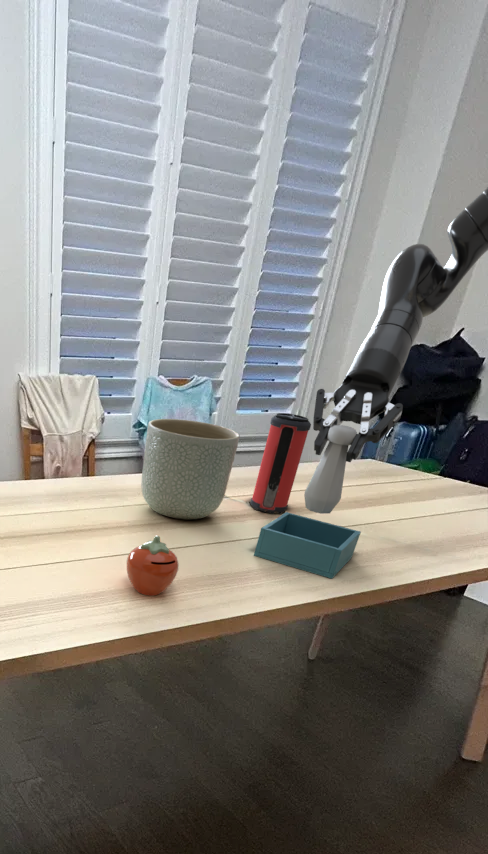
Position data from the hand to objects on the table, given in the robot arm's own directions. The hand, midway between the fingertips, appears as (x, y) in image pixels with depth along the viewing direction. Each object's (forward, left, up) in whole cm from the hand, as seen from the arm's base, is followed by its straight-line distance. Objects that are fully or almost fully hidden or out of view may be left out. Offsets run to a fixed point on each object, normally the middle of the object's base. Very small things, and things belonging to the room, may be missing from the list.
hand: (333, 454), depth 100 cm
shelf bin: (0, -2, -17) cm, 17 cm away
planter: (+27, -7, -17) cm, 33 cm away
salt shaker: (0, -2, -9) cm, 9 cm away
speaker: (+15, -26, -17) cm, 35 cm away
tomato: (+13, +32, -17) cm, 39 cm away
